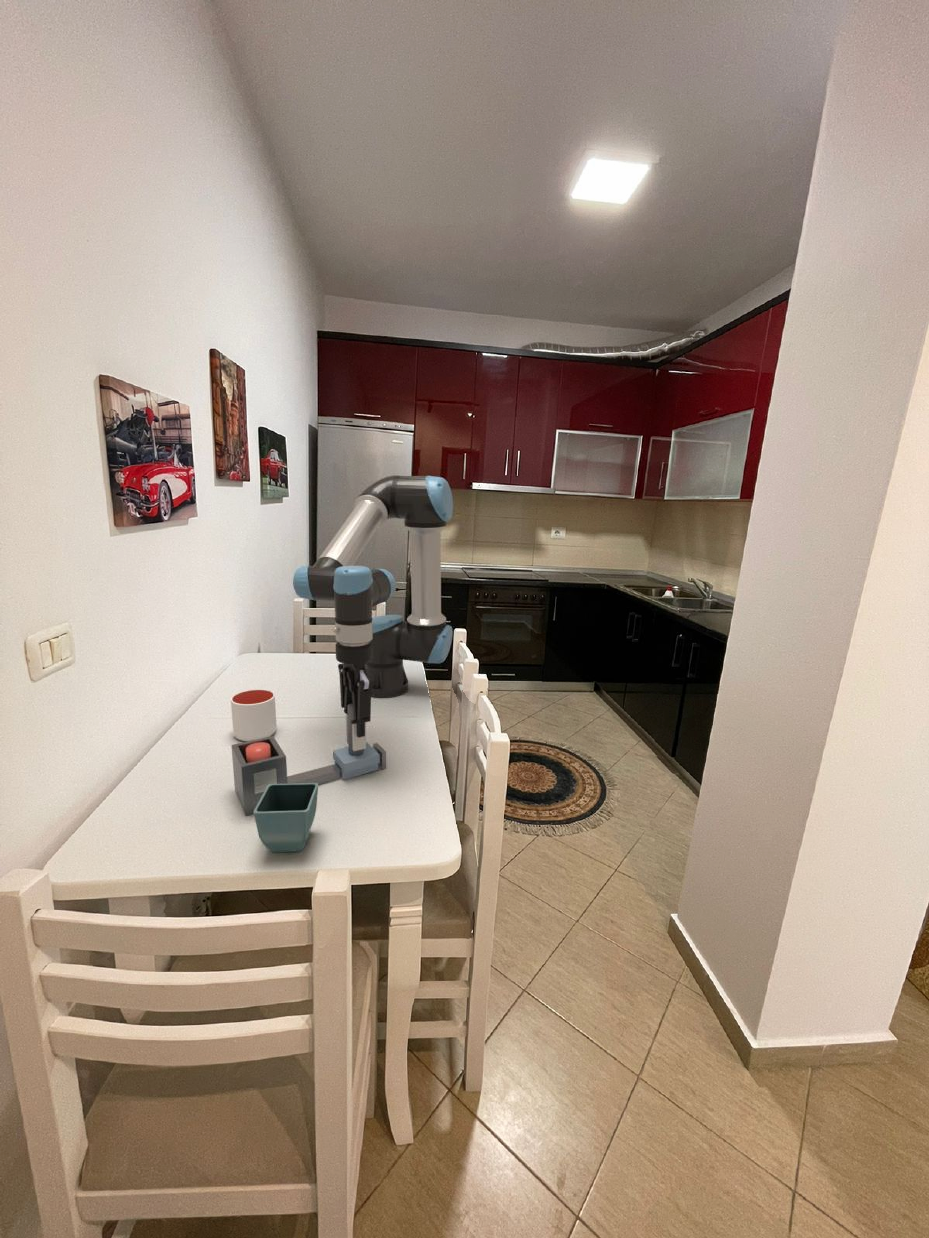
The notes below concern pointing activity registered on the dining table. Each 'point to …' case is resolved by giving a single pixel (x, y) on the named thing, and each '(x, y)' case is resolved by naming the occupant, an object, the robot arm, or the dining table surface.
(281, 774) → the open box
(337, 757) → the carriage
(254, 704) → the cup
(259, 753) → the button
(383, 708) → the dining table surface
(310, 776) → the rail
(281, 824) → the flower pot
